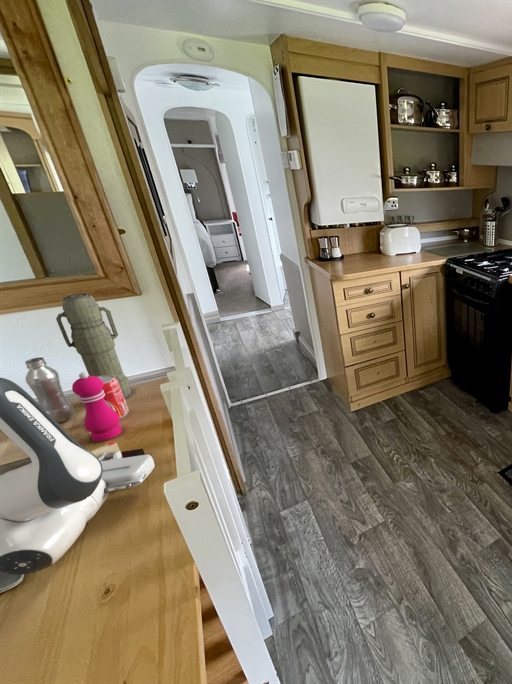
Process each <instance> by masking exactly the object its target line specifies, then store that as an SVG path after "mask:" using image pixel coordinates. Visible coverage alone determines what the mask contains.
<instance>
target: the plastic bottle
mask: <svg viewBox="0 0 512 684" xmlns="http://www.w3.org/2000/svg"><path fill="white" fill-rule="evenodd" d="M24 363H25V365H26V369H28V371H27V373H26V375H25V383H26V384H27V385H28V387H29V388H30V390H31V391H32V392H33V394H34V395H35V397H36V399H37V401H38V404H39V405H40V406H41V407H42V408H43V409H44V410H45V411H46V412H47V413H48V414H49V415H50V416H51V417H52V418H53V419H54V420H55V421H56V422H57V423H58V424H59V423H63V422H65V421H68V420H70V419H71V418H72V417H73V416H74V414H75V409H74V406H73V405H72V404H71V403H70V402H69V400H68V399H67V397H66V395H65V393H64V390H63V388H62V385H61V380H60V376H59V373H58V371H57V370H56V369H55V368H53V367H51V366H48V365H47V364H48V363H47V361H46V359H45V358H44V357H34V358H30V359H26V360H25V362H24Z"/></svg>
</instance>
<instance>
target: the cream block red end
mask: <svg viewBox="0 0 512 684" xmlns="http://www.w3.org/2000/svg"><path fill="white" fill-rule="evenodd" d="M114 451H121V450H120V448H119V445H118V443H117V442H115V441H114V440H112V441H110V442H108V443H107V444H105V445H103V446H100V447H98V448H95V449H93V450H91V451H90V452H92V453H93V454H94V455H95V456H96V457H97V458H99V457H101V456H102V455H103V454H104V453H107V452H114ZM121 458H122V456H121Z"/></svg>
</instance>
